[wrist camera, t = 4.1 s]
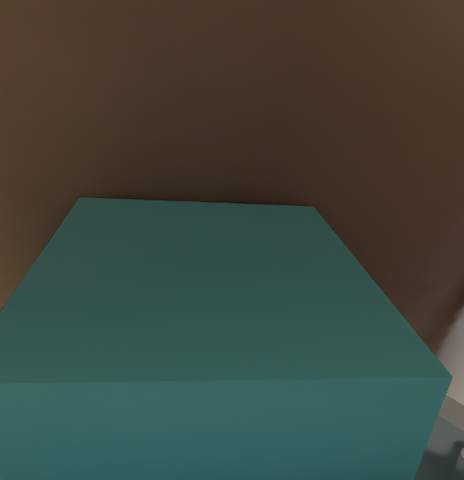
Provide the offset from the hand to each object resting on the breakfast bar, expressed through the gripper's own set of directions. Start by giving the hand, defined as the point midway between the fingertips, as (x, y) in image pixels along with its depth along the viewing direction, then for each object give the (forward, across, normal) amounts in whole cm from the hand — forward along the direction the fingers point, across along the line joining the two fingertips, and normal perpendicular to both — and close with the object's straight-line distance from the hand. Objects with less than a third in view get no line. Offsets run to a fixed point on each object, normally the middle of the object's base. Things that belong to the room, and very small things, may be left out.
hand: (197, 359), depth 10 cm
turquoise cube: (+2, 0, 0) cm, 3 cm away
